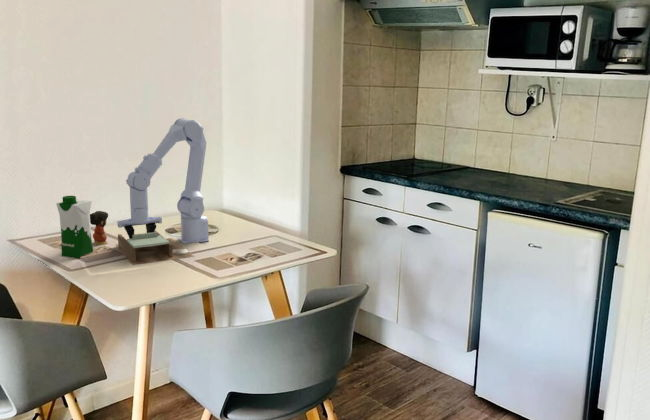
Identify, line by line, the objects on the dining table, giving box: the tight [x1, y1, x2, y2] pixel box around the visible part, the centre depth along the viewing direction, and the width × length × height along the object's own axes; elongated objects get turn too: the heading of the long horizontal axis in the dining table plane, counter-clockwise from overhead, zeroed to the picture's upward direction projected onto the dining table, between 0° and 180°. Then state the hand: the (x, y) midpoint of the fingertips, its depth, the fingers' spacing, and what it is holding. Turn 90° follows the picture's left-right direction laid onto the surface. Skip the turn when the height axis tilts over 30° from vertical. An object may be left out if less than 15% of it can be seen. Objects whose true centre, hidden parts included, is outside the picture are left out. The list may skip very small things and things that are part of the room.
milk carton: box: [55, 195, 94, 259], centre depth 195 cm, size 9×9×20 cm
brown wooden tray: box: [115, 229, 195, 266], centre depth 202 cm, size 20×25×5 cm
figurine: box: [90, 210, 109, 246], centre depth 208 cm, size 6×6×12 cm
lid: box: [126, 231, 169, 248], centre depth 196 cm, size 12×9×2 cm
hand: (140, 245), depth 205 cm, fingers closed on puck, 5 cm apart
